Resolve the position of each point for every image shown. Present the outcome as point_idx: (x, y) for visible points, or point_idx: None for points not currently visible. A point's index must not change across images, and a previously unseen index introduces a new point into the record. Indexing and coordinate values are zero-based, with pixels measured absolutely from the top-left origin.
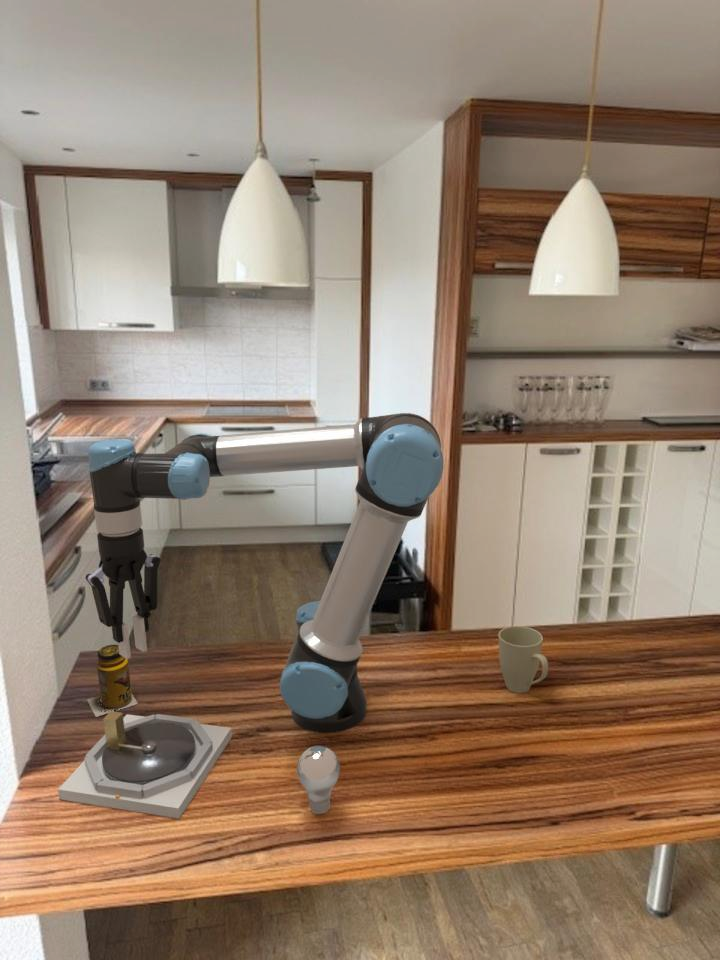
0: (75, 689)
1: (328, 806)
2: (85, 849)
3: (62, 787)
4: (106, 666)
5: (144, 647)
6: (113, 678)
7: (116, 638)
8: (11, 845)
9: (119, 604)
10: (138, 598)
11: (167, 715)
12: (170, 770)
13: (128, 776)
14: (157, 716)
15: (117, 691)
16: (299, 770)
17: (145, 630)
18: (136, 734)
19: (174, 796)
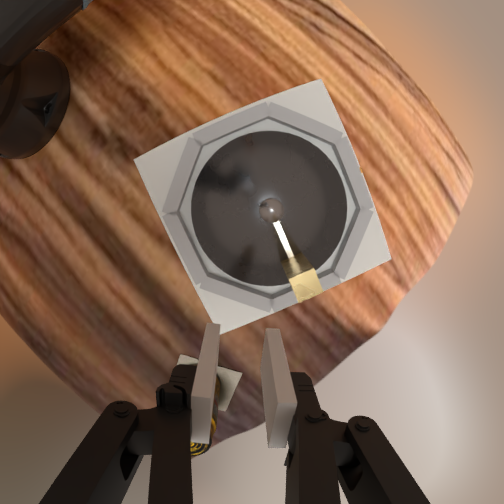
0: (220, 436)
1: None
2: (415, 148)
3: (386, 257)
4: None
5: (213, 331)
6: None
7: (312, 385)
8: (449, 229)
9: (321, 489)
10: (191, 483)
11: (186, 265)
12: (285, 134)
13: (335, 180)
14: (200, 277)
15: None
16: None
17: (189, 368)
18: (256, 263)
19: (308, 100)
